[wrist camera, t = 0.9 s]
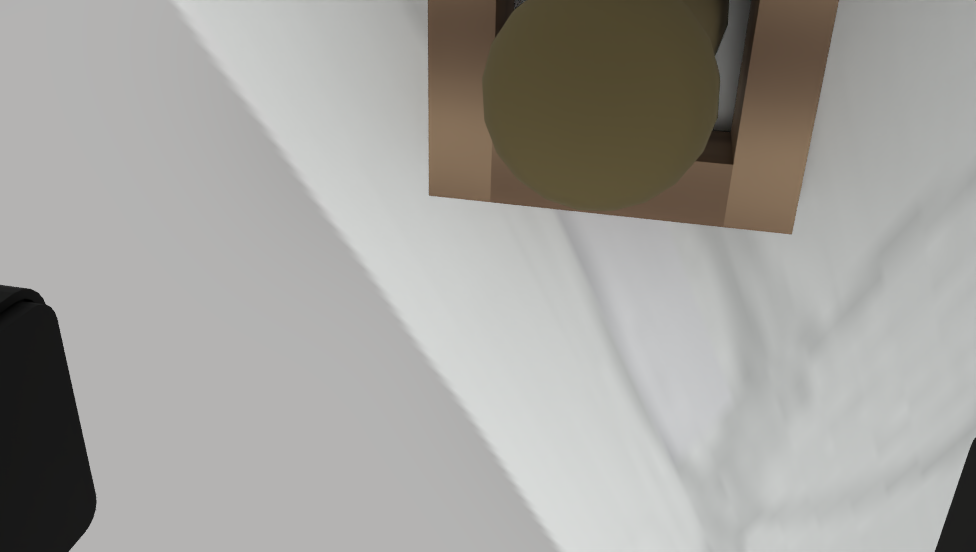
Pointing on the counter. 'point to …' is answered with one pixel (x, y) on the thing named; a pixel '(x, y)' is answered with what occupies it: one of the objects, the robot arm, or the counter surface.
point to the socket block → (713, 176)
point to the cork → (604, 96)
